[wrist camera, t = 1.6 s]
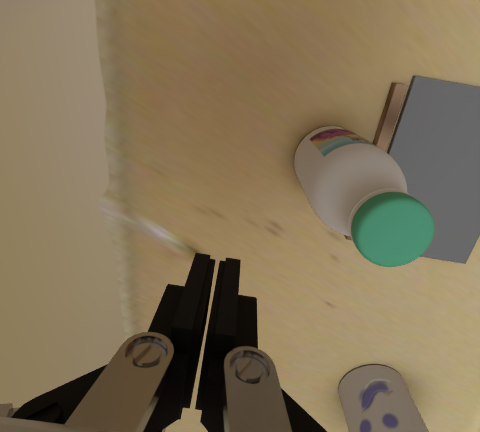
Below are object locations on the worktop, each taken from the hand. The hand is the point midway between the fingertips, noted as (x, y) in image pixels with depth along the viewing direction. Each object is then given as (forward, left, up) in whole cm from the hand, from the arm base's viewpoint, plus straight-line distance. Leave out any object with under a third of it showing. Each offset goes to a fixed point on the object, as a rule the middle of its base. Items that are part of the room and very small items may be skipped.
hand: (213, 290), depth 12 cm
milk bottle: (0, +10, -28) cm, 29 cm away
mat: (0, +24, -28) cm, 36 cm away
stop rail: (0, +15, -28) cm, 31 cm away
